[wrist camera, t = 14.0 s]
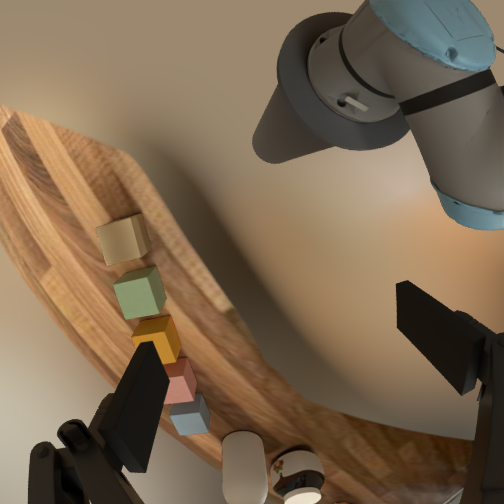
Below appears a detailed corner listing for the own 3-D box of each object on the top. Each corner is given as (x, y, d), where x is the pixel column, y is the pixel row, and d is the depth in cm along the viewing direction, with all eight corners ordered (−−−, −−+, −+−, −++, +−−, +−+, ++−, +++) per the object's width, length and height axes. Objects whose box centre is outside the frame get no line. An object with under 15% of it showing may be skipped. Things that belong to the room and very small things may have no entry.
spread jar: (299, 440, 50) (310, 485, 39) (333, 455, 52) (347, 495, 41) (257, 467, 52) (261, 510, 40) (292, 481, 54) (301, 519, 43)
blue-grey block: (201, 392, 46) (199, 412, 41) (210, 412, 47) (208, 432, 42) (173, 396, 46) (169, 415, 41) (183, 416, 47) (180, 435, 42)
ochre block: (171, 315, 42) (164, 331, 37) (181, 344, 43) (176, 362, 39) (140, 320, 42) (130, 337, 37) (151, 349, 43) (143, 366, 39)
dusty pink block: (187, 356, 44) (183, 375, 39) (196, 381, 45) (194, 401, 40) (157, 361, 44) (151, 379, 39) (168, 385, 45) (163, 404, 40)
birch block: (142, 212, 39) (130, 217, 34) (151, 248, 40) (141, 257, 35) (110, 222, 39) (95, 227, 34) (119, 256, 40) (106, 266, 35)
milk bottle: (222, 429, 48) (221, 519, 29) (264, 429, 49) (277, 518, 29) (221, 452, 50) (221, 535, 31) (260, 453, 51) (270, 535, 31)
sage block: (156, 265, 40) (147, 277, 36) (166, 298, 42) (159, 313, 37) (124, 273, 40) (112, 284, 36) (135, 305, 42) (125, 319, 37)
